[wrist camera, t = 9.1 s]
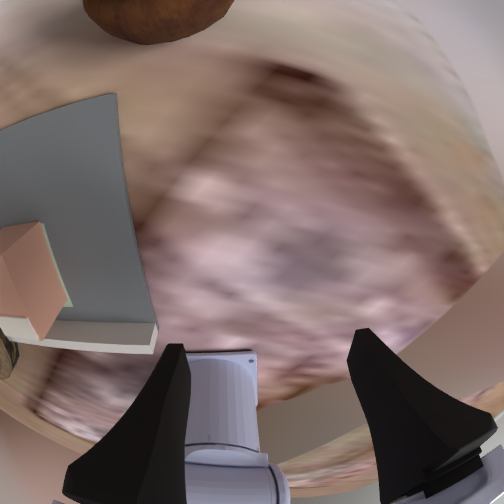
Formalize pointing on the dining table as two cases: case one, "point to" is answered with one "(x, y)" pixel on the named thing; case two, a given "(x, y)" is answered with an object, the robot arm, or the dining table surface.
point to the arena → (81, 224)
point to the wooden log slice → (7, 355)
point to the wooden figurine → (155, 18)
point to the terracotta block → (28, 283)
